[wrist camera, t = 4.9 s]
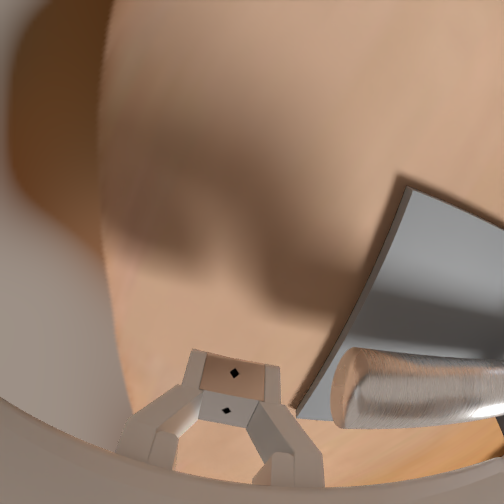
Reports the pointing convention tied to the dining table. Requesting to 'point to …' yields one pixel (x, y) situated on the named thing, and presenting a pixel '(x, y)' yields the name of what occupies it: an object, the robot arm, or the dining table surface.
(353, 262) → the dining table surface
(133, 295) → the dining table surface
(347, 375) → the tube
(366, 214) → the dining table surface
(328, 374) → the collar board
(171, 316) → the dining table surface
